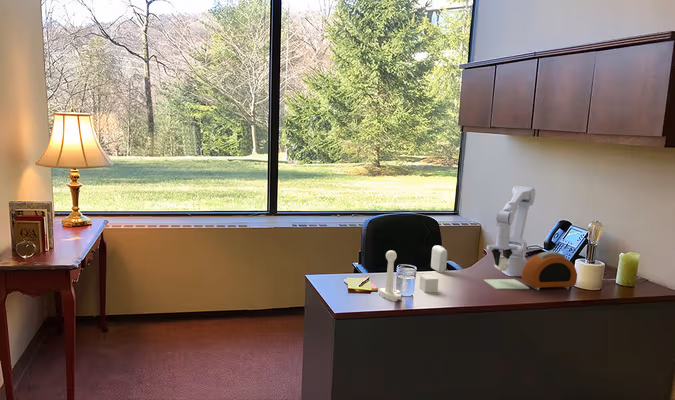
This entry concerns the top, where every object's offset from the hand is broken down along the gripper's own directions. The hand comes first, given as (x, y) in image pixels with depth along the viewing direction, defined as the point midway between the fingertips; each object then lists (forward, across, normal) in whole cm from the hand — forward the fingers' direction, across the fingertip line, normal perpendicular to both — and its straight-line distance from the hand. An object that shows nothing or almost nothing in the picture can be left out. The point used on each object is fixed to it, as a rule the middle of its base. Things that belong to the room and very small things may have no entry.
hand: (500, 265), depth 243 cm
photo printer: (+9, -22, +20) cm, 32 cm away
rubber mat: (+8, +2, -3) cm, 9 cm away
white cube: (+9, -38, -10) cm, 40 cm away
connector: (+2, 0, -1) cm, 2 cm away
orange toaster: (+9, +21, -7) cm, 24 cm away
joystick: (+9, -57, -18) cm, 60 cm away
